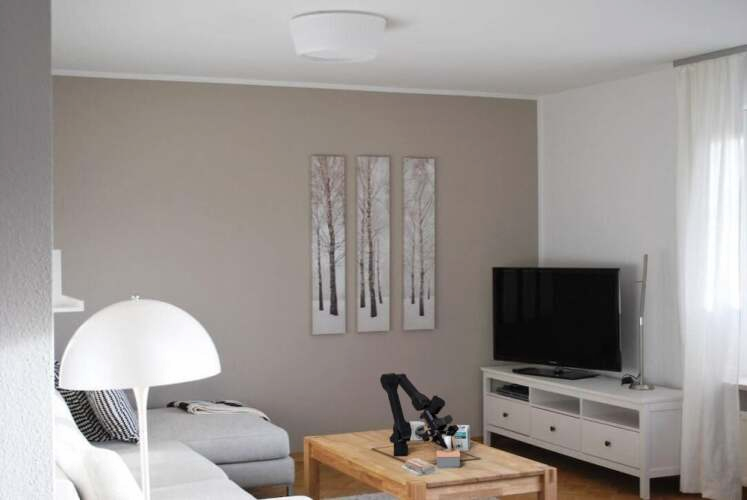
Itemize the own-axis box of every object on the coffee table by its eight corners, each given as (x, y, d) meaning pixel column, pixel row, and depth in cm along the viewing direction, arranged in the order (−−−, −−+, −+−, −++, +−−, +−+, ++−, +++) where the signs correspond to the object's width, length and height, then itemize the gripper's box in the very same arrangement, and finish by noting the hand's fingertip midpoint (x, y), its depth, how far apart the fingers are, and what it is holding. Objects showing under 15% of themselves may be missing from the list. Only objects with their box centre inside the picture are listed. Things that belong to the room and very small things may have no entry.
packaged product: (438, 463, 429) (418, 466, 425) (439, 474, 429) (418, 477, 425) (420, 455, 446) (400, 458, 442) (421, 466, 446) (401, 468, 442)
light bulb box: (468, 451, 474) (467, 428, 474) (454, 450, 475) (453, 428, 475) (470, 446, 484) (469, 424, 484) (456, 446, 486) (456, 424, 486)
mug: (412, 436, 514) (411, 420, 514) (429, 438, 508) (428, 422, 508) (397, 440, 503) (397, 424, 503) (414, 442, 497) (414, 426, 497)
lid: (436, 459, 439) (436, 438, 439) (436, 454, 449) (435, 434, 449) (460, 459, 438) (459, 438, 438) (459, 454, 449) (458, 433, 449)
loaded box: (437, 468, 439) (437, 457, 439) (437, 463, 449) (436, 452, 449) (459, 467, 438) (459, 456, 438) (459, 462, 448) (458, 451, 448)
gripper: (425, 412, 441) (443, 440, 432) (455, 407, 452) (473, 434, 444) (414, 427, 447) (431, 455, 438) (444, 422, 459) (461, 449, 450)
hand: (450, 448), depth 443 cm, fingers closed on lid, 3 cm apart
